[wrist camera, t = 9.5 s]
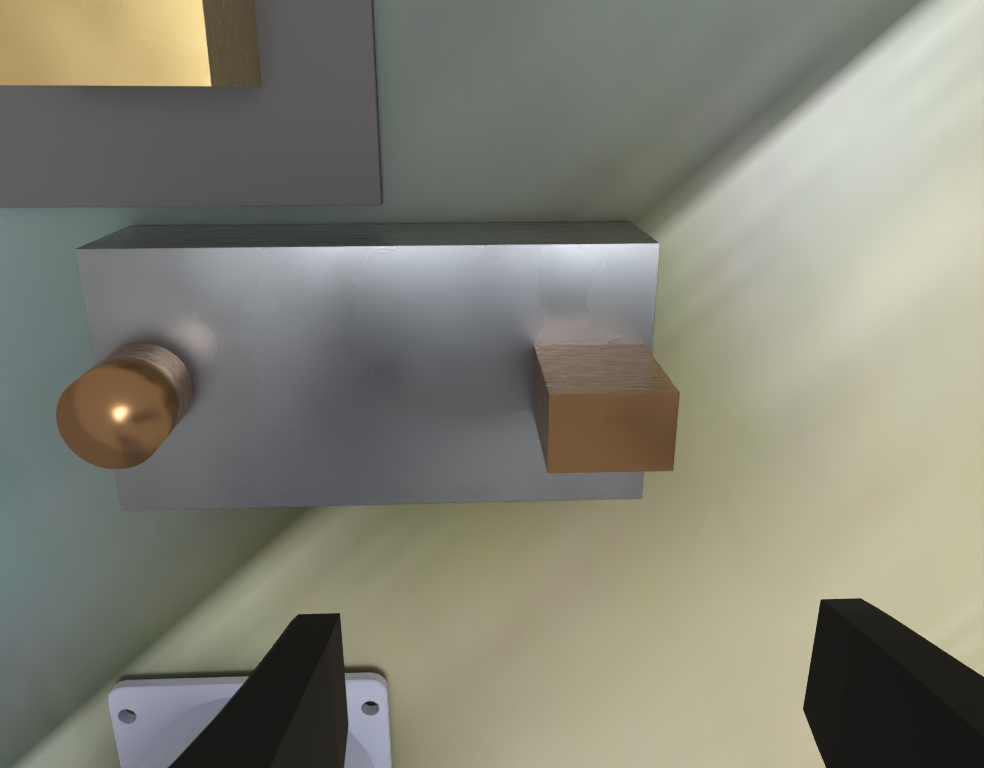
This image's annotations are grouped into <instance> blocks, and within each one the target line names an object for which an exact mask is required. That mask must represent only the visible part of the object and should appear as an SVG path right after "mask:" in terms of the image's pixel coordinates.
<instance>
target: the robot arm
mask: <svg viewBox="0 0 984 768" xmlns="http://www.w3.org/2000/svg"><path fill="white" fill-rule="evenodd" d="M368 701H373V702H375V703H377V705H374V706H369V705H366V704H365V702H368ZM108 707H109V712H110V717H111V721H112V726H113V731H114V736H115V741H116V746H117V751H118V756H119V761H120V765H121V768H392V755H391V737H390V719H389V702H388V685H387V682H386V680H385V679H384V678H383V677H382V676H381V675H379V674H377V673H370V672H368V673H345V672H344V659H343V646H342V634H341V621H340V613H332V614H298V615H297V616H296V617H295V618H294V619H293V620H292V621H291V622H290V624H289V625H288V626H287V628H286V629H285V630H284V632H283V633H282V634H281V636H280V637H279V638H278V640H277V641H276V643H275V644H274V645H273V647H272V648H271V649H270V650H269V652H268V653H267V654H266V656H265V657H264V658H263V660H262V661H261V662H260V663H259V665H258V666H257V667H256V668H255V670H254V671H253V672H252V674H251V675H250V676H242V677H210V678H178V679H147V680H125V681H120V682H118V683H117V684H115V685H114V687H113V688H112V690H111V692H110V694H109V695H108ZM124 709H128V710H132V711H133V712H135V714H131V713H128V712H126V711H125V710H124ZM803 710H804V713H805V715H806V718H807V721H808V723H809V726H810V728H811V731H812V734H813V736H814V739H815V742H816V744H817V747H818V749H819V752H820V754H821V756H822V759H823V761H824V764H825V766H826V768H984V677H983V676H982V675H980V674H978V673H977V672H975V671H974V670H972V669H971V668H969V667H968V666H966V665H964V664H963V663H961V662H960V661H958V660H957V659H955V658H954V657H952V656H951V655H949V654H948V653H946V652H945V651H943V650H941V649H940V648H938V647H937V646H935V645H934V644H932V643H931V642H929V641H928V640H926V639H925V638H923V637H922V636H920V635H919V634H917V633H916V632H914V631H913V630H911V629H910V628H908V627H906V626H905V625H903V624H902V623H900V622H899V621H897V620H896V619H894V618H893V617H891V616H889V615H888V614H886V613H885V612H883V611H881V610H880V609H878V608H876V607H875V606H873V605H871V604H870V603H868V602H866V601H864V600H863V599H861V598H858V599H823V600H821V602H820V608H819V614H818V620H817V626H816V633H815V639H814V645H813V651H812V657H811V663H810V670H809V676H808V682H807V688H806V694H805V700H804V707H803Z"/></svg>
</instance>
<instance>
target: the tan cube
mask: <svg viewBox="0 0 984 768" xmlns="http://www.w3.org/2000/svg"><path fill="white" fill-rule="evenodd" d="M0 85H36V86H186V87H262V81H261V69H260V58H259V46H258V35H257V23H256V12H255V0H0Z"/></svg>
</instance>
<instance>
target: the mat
mask: <svg viewBox="0 0 984 768" xmlns="http://www.w3.org/2000/svg"><path fill="white" fill-rule="evenodd" d="M255 12H256V23H257V35H258V46H259V58H260V69H261V81H262V87H186V86H36V85H0V208H42V207H170V206H298V205H381V204H382V183H381V162H380V141H379V120H378V99H377V78H376V57H375V35H374V14H373V0H255Z"/></svg>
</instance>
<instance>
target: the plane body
mask: <svg viewBox="0 0 984 768" xmlns="http://www.w3.org/2000/svg"><path fill="white" fill-rule="evenodd" d="M75 252H76V258H77V263H78V269H79V274H80V280H81V286H82V291H83V297H84V302H85V308H86V313H87V319H88V325H89V330H90V336H91V341H92V347H93V353H94V358H95V364H96V365H95V366H94V367H93V368H91V369H90V370H89V371H87V372H86V373H85V374H84V375H82V376H81V377H80V378H78V379H77V380H76V381H74V382H73V383H72V384H71V385H69V386H68V387H67V388H66V390H65V391H64V392H63V394H62V395H61V397H60V399H59V402H58V405H57V411H56V418H57V425H58V428H59V431H60V434H61V436H62V438H63V439H64V441H65V443H66V444H67V445H68V446H69V448H70V449H71V450H72V451H73V452H74V453H75V454H77V455H78V456H79V457H81V458H82V459H84V460H85V461H87V462H89V463H91V464H93V465H96V466H99V467H103V468H108V469H114V470H115V475H116V481H117V487H118V492H119V498H120V503H121V509H122V511H129V510H172V509H215V508H259V507H302V506H345V505H389V504H432V503H475V502H519V501H562V500H605V499H642V489H643V475H644V471H673V465H674V453H675V441H676V428H677V416H678V404H679V391H678V390H677V388H676V387H675V386H674V384H673V383H672V382H671V380H670V379H669V378H668V376H667V375H666V374H665V372H664V371H663V369H662V368H661V367H660V365H659V364H658V363H657V361H656V360H655V359H654V357H653V356H652V345H653V330H654V316H655V301H656V287H657V272H658V258H659V243H658V242H657V241H656V240H654V239H653V238H652V237H650V236H649V235H648V234H646V233H645V232H643V231H642V230H641V229H639V228H638V227H637V226H635V225H634V224H633V223H631V222H518V223H404V224H290V225H176V226H129V227H127V228H124V229H122V230H119V231H117V232H115V233H112V234H110V235H108V236H105V237H103V238H100V239H98V240H96V241H93V242H91V243H89V244H86V245H84V246H82V247H79V248H77V249H75Z"/></svg>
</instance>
